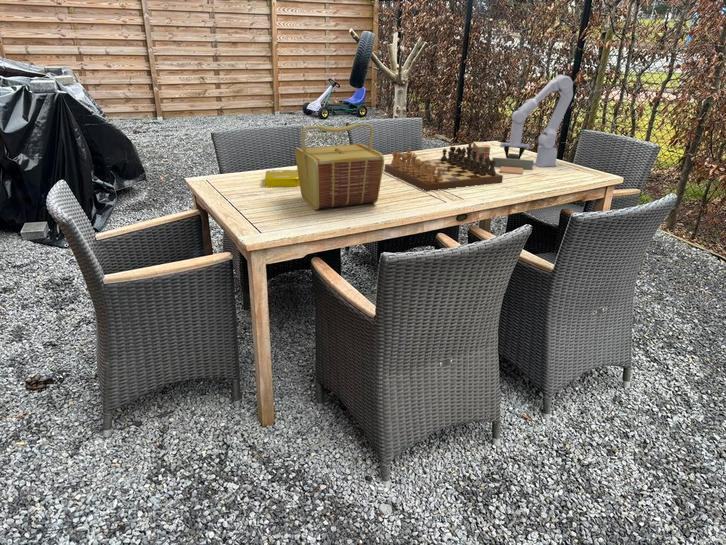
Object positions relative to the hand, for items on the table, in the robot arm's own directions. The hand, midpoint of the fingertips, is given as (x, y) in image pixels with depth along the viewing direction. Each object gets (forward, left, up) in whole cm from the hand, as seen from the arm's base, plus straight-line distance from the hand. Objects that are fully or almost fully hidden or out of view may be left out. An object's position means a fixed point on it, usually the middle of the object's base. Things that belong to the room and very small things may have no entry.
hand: (512, 161), depth 268 cm
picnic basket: (+104, +42, -2) cm, 112 cm away
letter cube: (0, 0, -1) cm, 1 cm away
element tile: (+121, +8, -2) cm, 122 cm away
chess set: (+47, +14, -2) cm, 49 cm away
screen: (+5, +7, -1) cm, 9 cm away
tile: (+8, +13, -1) cm, 16 cm away
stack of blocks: (+20, 0, -2) cm, 20 cm away
